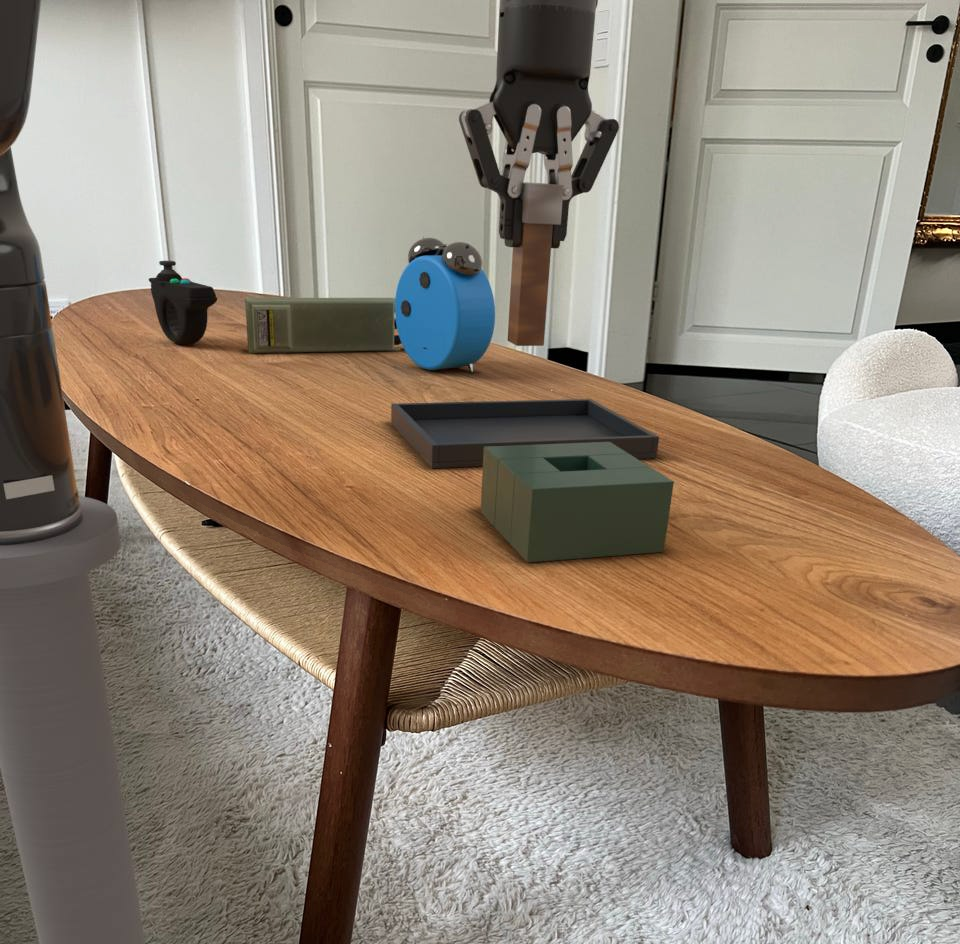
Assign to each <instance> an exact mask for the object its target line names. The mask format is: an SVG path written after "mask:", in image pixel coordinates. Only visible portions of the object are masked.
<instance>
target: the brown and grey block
mask: <svg viewBox="0 0 960 944" xmlns="http://www.w3.org/2000/svg"><path fill="white" fill-rule="evenodd" d="M563 188H564V185H558V184H548V183H545V182H529V181H527V182H526V181H524V182H523V186H522V191H521V194H520V200H523V206H522V227H521V243H520V246H519V248H517V247H512V254H511V273H510V289H509V290H510V291H509V292H510V293H509V304H508V305H509V306H508V307H509V309H508V324H507V340H506V341H507V342H509V343H511V344H513V345H515V346H517V347H543V346H544V345H545V335H546V321H547V308H548V296H549V281H550V270H551V269H550V267H551V256H552V248H551V243H552V230H553V225H560V224H561V213H562V200H563Z"/></svg>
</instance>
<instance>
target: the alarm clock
mask: <svg viewBox="0 0 960 944" xmlns="http://www.w3.org/2000/svg"><path fill="white" fill-rule="evenodd" d="M482 258H483V257H482V255H481V254H480V252H479V250H477V248H476V247H475V246H474V245H472V244H469V243H468V242H465V241H454V242H451V243H450V244H446V243H443V242H442V241H441V240H440V239H438V238H435V237H425V236H423V237H421V238H420V239H418V240H416V241H415V242H414V243H412V245H411V246H410V248H409V250H408V252H407V263H408V264H407V265H406V267H405V268H404V269H403V271H402V273H401V275H400V277H399V280H398V283H397V287H396V291H395V297H394V298H395V320H396V325H397V329H396V330H397V335H399V337H400V340H401V343H402V344H401V345H402V347H403V349H404V351H405V353H406V355H407V356H408V357H409V358H410V360H411V361H412V362H413V363H414V364H415V365H417V366H418V367H420V368H421V369H424V370H427V371H436V370H437V371H439V370H445V369H453V368H454V369H457V368H465V367H467V368H468V369H469V371H470V373H473V372H474V367H473V365H474V364H476V363H477V362H478V361H479V360H481V359H482V358H483V356H484V355H485V353H486V352H487V350H488V348H489V346H490V344H491V342H492V339H493V335H494V332H495V324H496V305H495V299H494V298H495V297H494V294H493V293H494V292H493V289H492V286H491V283H490V281H489V279H488V277H487V275H486V273H485V272H484V270H483V268H482V267H483V259H482Z"/></svg>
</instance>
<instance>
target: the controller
mask: <svg viewBox="0 0 960 944" xmlns="http://www.w3.org/2000/svg"><path fill="white" fill-rule="evenodd" d="M158 264H159V265H160V266H163V269H162V270H160V272H159V273H157V274H156V276H155V277H150V278H148V282H149V283H150V294H151V297H152V300H153V304H154V308H155V313H156V317H157V322H158V323H159V325H160V328H161V330H162V332H163V333H164V335H165V336H166V338H167V339H168V340H169V341H171V342H172V343H173V344H177V345H193V344H196V343H198V342H199V341H201V339H203V337H204V335H205V334H206V330H207V328H208V327H207V326H208V311H209V308H210V307H212V306H213V305H215V304H216V303H217V302H218V297H217V295H216V291H215V289H214V288H213V286H210V285H206V284H202V283H197V282H194V281H191V279H190V278H187V277H182V276H181V275H180V273H178V272H177V271H176V270H175V269H173V267H174V266H176V264H177V262H176V261H174V260H160V261H158Z"/></svg>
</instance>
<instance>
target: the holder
mask: <svg viewBox="0 0 960 944" xmlns="http://www.w3.org/2000/svg"><path fill="white" fill-rule="evenodd" d="M481 475H482V477H481V495H480V513H481V515H482V516H483V517H484V518H485V519H486V520H487V521H488V522H489V523H490V525H492V527H494V529H495V530H496V531H497V532H498V533H499V534H500V535H501V537H503V538H504V539H505V540H506V541H507V543H509V545H510V546H511V547H512V548H513V550H515V551H516V553H517V554H518V555H519V556H520V557H521V558H522V559H523V560H524V561H525V562H526V563H540V562H541V563H542V562H551V561H553V562H554V561H566V560H577V559H579V560H580V559H591V558H603V557H617V556H629V555H641V554H655V553H664V551H665V545H666V538H667V532H668V526H669V519H670V510H671V504H672V499H673V498H672V497H673V491H674V485H675V484H674V483H675V481H674V480H673V479H671V478H669V477H667V476H666V475H664V474H663V473H661V472H660V471H658V470H656V469H655V468H653V467H651V466H650V465H648V464H646V463H644V462H643V461H641V459H636V458H635V457H633V456H632V455H630V454H628V453H627V452H625V451H624V450H622V449H620V448H619V447H617V446H616V445H614V444H612V443H611V442H590V443H564V444H539V445H513V446H487V447H484V452H483V466H482V473H481Z"/></svg>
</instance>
